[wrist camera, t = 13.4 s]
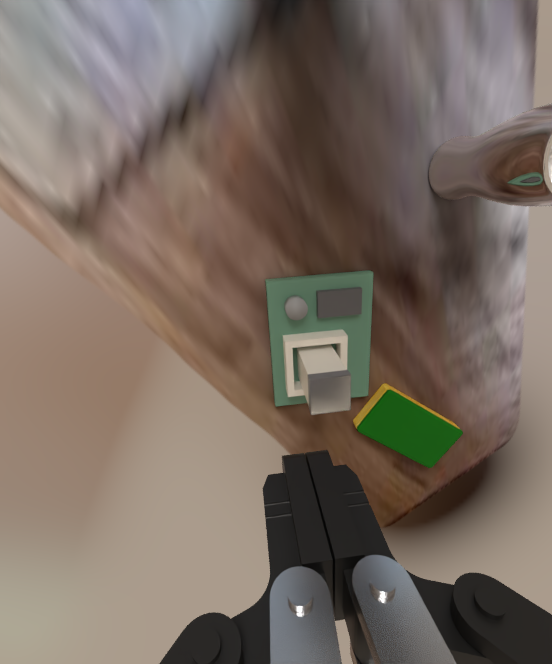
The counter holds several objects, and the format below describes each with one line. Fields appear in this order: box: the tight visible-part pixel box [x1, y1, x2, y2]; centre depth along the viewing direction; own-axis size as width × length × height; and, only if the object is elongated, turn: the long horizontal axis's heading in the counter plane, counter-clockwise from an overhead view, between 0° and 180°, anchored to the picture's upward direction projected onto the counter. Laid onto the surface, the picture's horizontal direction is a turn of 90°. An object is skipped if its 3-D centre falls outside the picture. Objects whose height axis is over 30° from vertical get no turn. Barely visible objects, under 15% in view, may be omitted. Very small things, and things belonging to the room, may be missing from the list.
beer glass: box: [429, 104, 552, 206], centre depth 29 cm, size 7×7×15 cm
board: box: [265, 270, 373, 406], centre depth 40 cm, size 16×12×3 cm
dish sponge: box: [353, 383, 463, 468], centre depth 47 cm, size 7×14×2 cm, turn 57°
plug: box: [297, 344, 351, 415], centre depth 38 cm, size 4×4×8 cm
